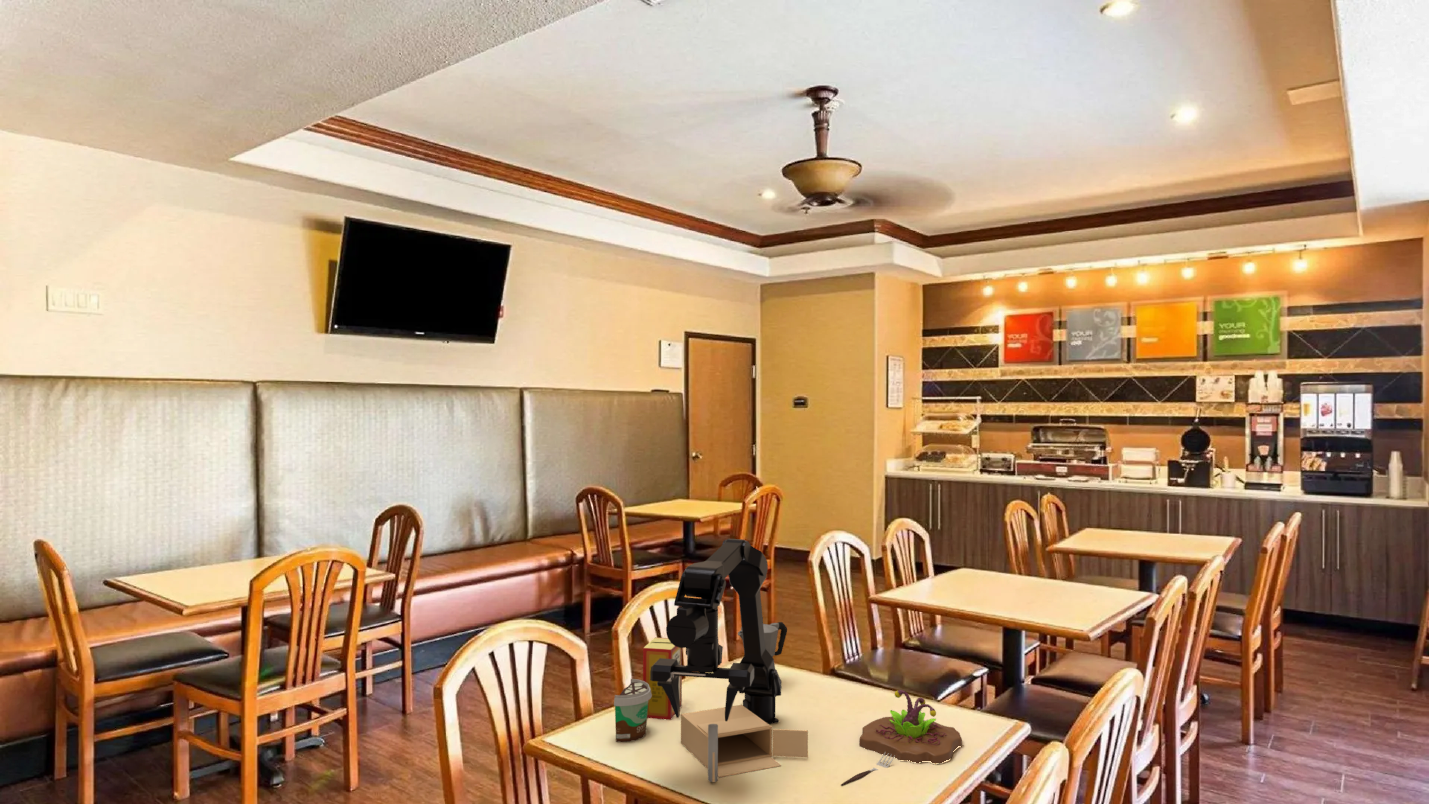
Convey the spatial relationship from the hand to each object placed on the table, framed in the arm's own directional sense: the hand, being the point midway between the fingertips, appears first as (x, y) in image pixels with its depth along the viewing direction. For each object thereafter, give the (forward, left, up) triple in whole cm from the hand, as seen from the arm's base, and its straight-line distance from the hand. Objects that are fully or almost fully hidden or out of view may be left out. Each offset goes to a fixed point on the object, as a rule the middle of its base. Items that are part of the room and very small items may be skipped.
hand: (702, 718), depth 156 cm
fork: (-30, +9, -12) cm, 34 cm away
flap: (-3, -2, -11) cm, 12 cm away
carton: (-14, -10, -12) cm, 21 cm away
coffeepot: (-36, -45, -12) cm, 58 cm away
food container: (+3, -28, -12) cm, 30 cm away
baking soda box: (-7, -39, -12) cm, 41 cm away
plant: (-47, -1, -13) cm, 49 cm away
